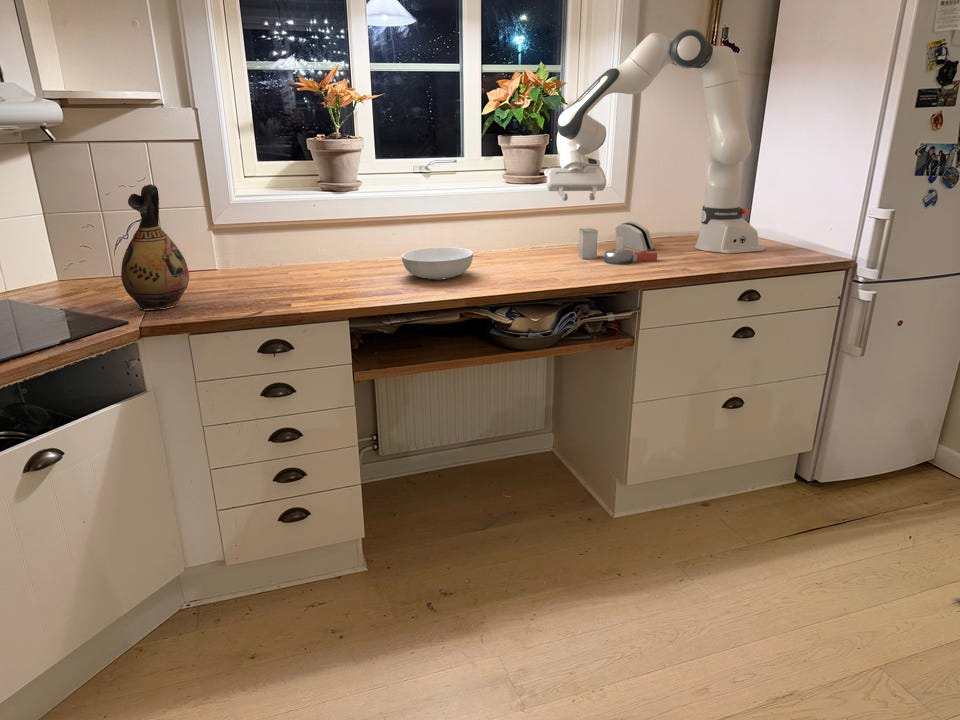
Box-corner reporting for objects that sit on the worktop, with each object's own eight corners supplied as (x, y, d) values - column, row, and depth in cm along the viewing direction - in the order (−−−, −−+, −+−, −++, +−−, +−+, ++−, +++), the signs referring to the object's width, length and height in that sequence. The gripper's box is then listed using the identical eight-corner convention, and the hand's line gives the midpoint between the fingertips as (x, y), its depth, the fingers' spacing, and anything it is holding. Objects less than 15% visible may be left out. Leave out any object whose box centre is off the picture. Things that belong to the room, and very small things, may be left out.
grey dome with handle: (650, 257, 221) (651, 234, 219) (660, 262, 213) (662, 239, 210) (600, 259, 220) (601, 235, 217) (608, 265, 211) (610, 240, 209)
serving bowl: (432, 265, 214) (431, 244, 212) (487, 273, 203) (487, 250, 200) (387, 279, 198) (386, 255, 196) (444, 288, 187) (443, 263, 185)
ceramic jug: (182, 313, 167) (160, 188, 157) (117, 315, 166) (91, 190, 156) (203, 295, 183) (185, 181, 173) (144, 297, 182) (122, 182, 171)
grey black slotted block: (657, 251, 231) (651, 223, 226) (646, 256, 230) (639, 229, 225) (629, 242, 245) (623, 217, 241) (618, 248, 244) (612, 222, 240)
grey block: (592, 255, 225) (593, 228, 222) (596, 258, 220) (597, 230, 217) (578, 256, 224) (579, 228, 221) (582, 259, 220) (583, 231, 217)
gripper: (545, 160, 230) (550, 193, 224) (604, 160, 232) (610, 193, 226) (542, 173, 235) (547, 205, 230) (599, 172, 238) (605, 204, 232)
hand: (579, 199), depth 228 cm, fingers open, 8 cm apart
